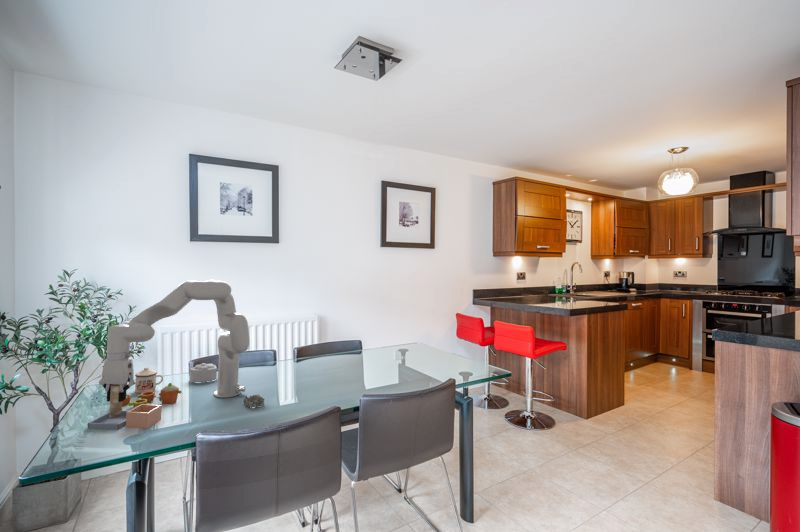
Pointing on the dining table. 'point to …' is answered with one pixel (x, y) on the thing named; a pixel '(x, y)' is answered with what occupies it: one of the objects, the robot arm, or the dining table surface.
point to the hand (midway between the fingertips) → (116, 400)
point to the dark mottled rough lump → (254, 401)
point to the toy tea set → (166, 395)
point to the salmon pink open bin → (143, 416)
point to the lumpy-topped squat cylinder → (203, 373)
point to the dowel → (115, 402)
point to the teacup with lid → (146, 380)
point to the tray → (108, 422)
